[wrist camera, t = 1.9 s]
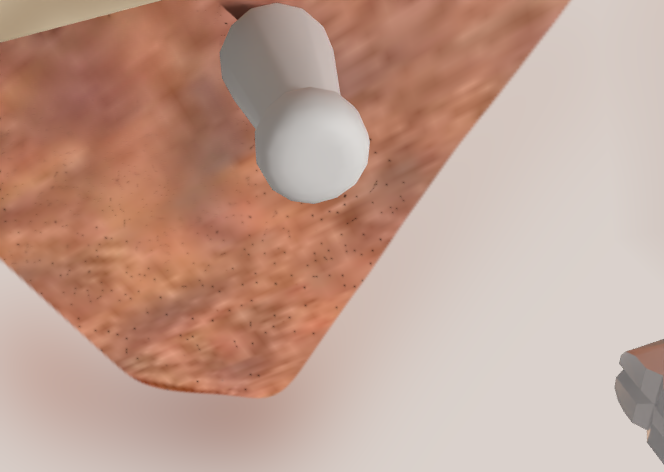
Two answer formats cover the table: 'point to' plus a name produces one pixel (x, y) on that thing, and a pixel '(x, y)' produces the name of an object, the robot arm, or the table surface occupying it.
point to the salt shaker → (294, 103)
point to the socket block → (54, 14)
